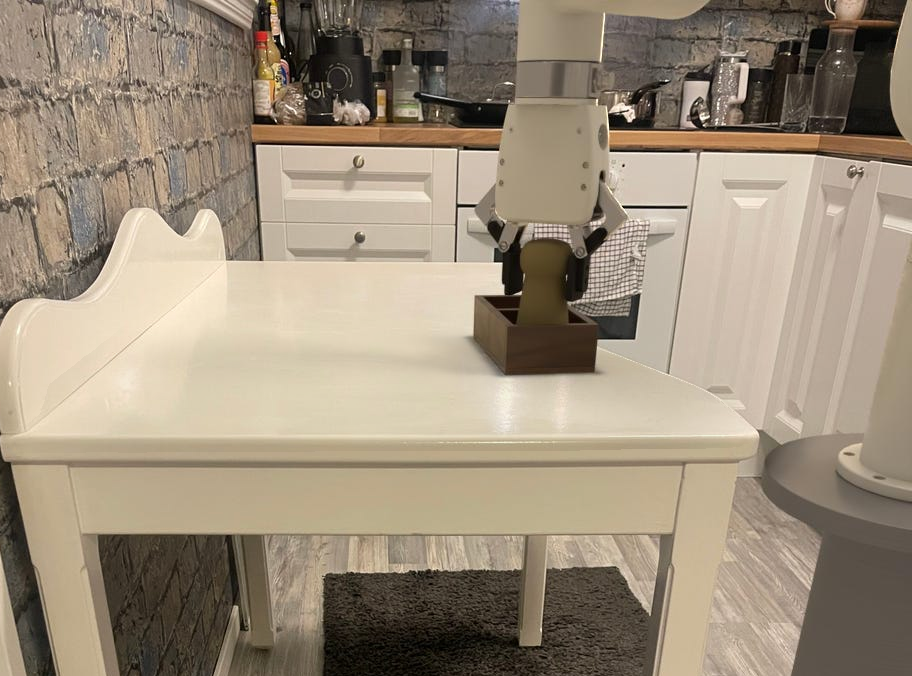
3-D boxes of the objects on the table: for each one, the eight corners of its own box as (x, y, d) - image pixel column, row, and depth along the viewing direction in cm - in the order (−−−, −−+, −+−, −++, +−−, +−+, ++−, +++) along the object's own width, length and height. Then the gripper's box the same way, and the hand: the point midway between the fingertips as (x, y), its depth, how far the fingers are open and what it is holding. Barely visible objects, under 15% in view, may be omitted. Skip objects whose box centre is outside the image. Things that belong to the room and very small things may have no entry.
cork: (503, 358, 96) (508, 240, 90) (520, 346, 101) (526, 234, 95) (561, 364, 94) (570, 244, 88) (576, 351, 99) (585, 237, 93)
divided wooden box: (594, 372, 94) (599, 324, 92) (505, 374, 93) (507, 326, 91) (550, 335, 109) (553, 293, 107) (473, 337, 108) (474, 295, 106)
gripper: (662, 88, 85) (638, 299, 94) (488, 87, 92) (482, 284, 101) (635, 86, 79) (613, 311, 88) (453, 86, 86) (449, 294, 95)
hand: (543, 294), depth 94 cm, fingers open, 5 cm apart
